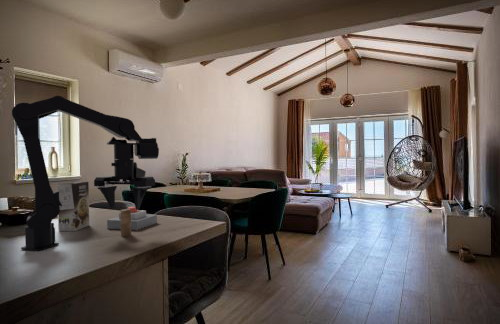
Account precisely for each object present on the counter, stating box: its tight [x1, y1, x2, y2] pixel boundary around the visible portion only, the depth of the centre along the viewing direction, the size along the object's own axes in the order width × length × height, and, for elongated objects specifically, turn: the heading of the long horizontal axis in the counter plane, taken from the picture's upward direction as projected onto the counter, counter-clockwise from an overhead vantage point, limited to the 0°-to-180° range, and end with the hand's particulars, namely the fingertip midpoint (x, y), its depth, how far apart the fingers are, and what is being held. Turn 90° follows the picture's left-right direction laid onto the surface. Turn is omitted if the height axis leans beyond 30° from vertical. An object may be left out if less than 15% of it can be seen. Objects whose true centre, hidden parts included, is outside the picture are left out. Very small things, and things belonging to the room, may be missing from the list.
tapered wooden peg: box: [119, 208, 132, 237], centre depth 102 cm, size 3×3×8 cm
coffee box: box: [57, 181, 91, 232], centre depth 114 cm, size 9×6×16 cm
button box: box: [106, 209, 158, 231], centre depth 117 cm, size 12×12×5 cm
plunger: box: [127, 206, 137, 213], centre depth 117 cm, size 3×3×3 cm
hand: (125, 209), depth 102 cm, fingers open, 9 cm apart
